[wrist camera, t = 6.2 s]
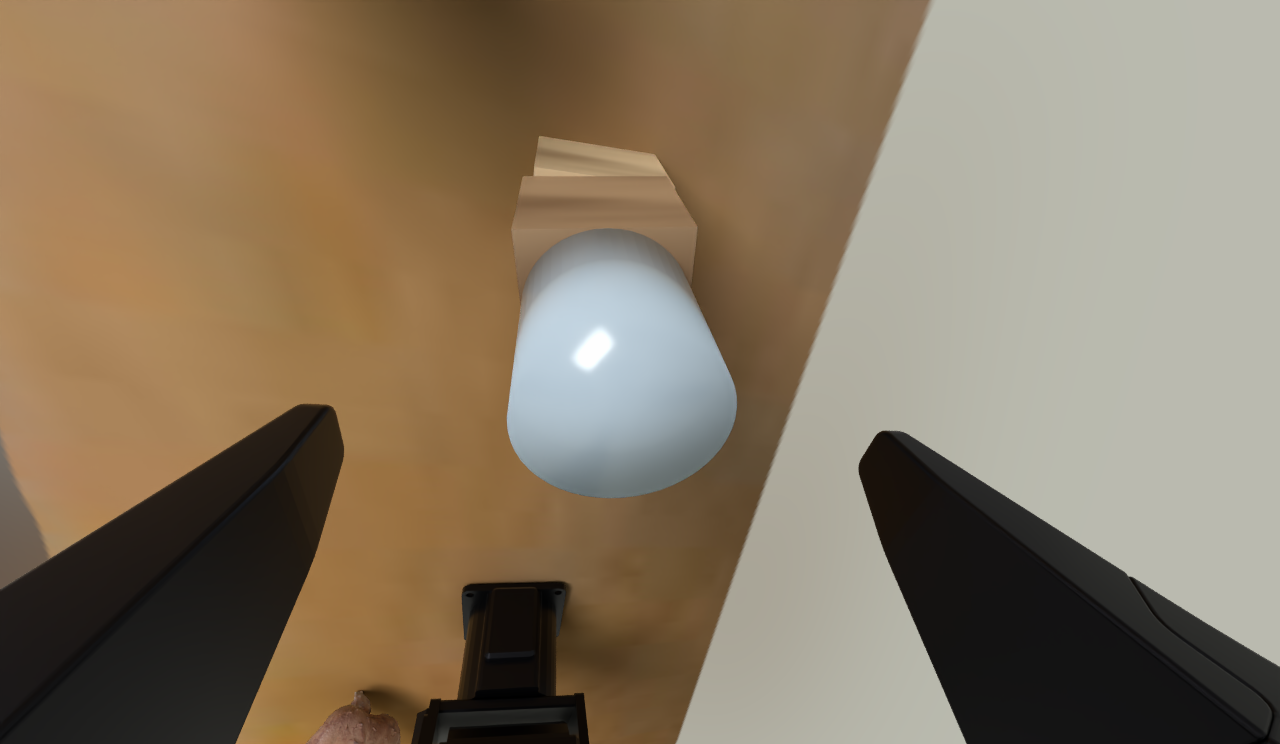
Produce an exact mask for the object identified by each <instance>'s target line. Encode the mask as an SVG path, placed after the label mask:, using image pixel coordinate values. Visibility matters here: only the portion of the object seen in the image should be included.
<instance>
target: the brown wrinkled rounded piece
mask: <svg viewBox="0 0 1280 744" xmlns="http://www.w3.org/2000/svg"><path fill="white" fill-rule="evenodd" d="M370 712H371V707H370V701H369V699H367V697H366V696H365V695H364V694H363V691H360V692H355V698H354V700H353V702H352V703H351V705H347V706H343V707H341V708H339V709H337V710H335V712H333V713H332V714H331V715H330V716H329V717H328V718H327V720H326V721H325V722H324V724H323V726H321V727H320V729H319V730H318V731H317V732H316V733H315V734H314V735H313V736H312V737H311V739H310V740H309V741H308V742H307V743H306V744H400V728H399V726H398V723H397V721H396V720H395V719H394V718H393V717H391V716H389V715H388V714H383V713H382V714H380V715H372V714H370Z"/></svg>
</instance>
